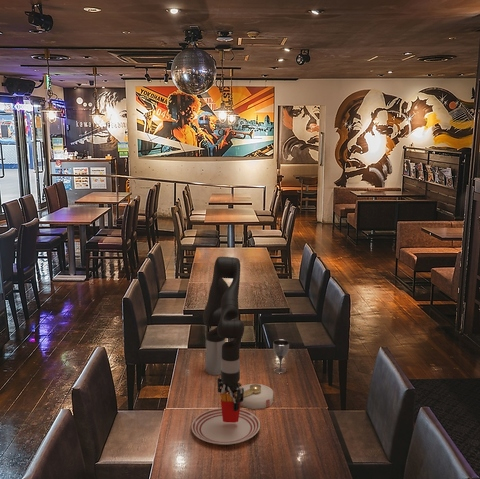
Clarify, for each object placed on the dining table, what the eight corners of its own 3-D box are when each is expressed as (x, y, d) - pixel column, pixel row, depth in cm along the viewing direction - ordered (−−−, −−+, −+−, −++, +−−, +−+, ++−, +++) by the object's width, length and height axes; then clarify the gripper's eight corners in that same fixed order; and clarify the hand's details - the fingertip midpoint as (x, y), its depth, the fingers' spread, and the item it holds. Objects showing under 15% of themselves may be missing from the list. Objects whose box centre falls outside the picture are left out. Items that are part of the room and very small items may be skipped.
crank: (255, 387, 242) (255, 374, 241) (263, 391, 239) (263, 377, 238) (229, 398, 232) (229, 383, 231) (236, 402, 229) (236, 387, 228)
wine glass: (269, 368, 273) (270, 340, 270) (283, 366, 276) (284, 338, 273) (277, 374, 266) (278, 346, 263) (291, 372, 269) (292, 343, 266)
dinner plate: (198, 455, 198) (198, 447, 198) (186, 418, 224) (186, 411, 224) (269, 445, 206) (269, 437, 205) (248, 410, 232) (249, 403, 231)
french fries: (240, 417, 219) (240, 390, 217) (240, 422, 215) (240, 394, 213) (219, 417, 219) (219, 390, 217) (219, 422, 215) (219, 394, 213)
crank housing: (230, 399, 241) (230, 390, 240) (256, 388, 251) (256, 380, 250) (254, 413, 228) (254, 404, 228) (281, 401, 239) (281, 393, 238)
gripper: (249, 371, 210) (248, 411, 213) (226, 360, 221) (226, 397, 224) (234, 377, 205) (234, 417, 208) (211, 365, 216) (211, 403, 219)
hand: (230, 406), depth 216 cm, fingers open, 7 cm apart
